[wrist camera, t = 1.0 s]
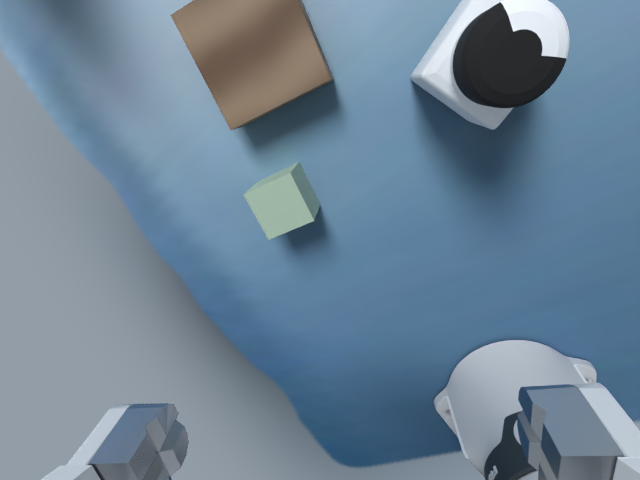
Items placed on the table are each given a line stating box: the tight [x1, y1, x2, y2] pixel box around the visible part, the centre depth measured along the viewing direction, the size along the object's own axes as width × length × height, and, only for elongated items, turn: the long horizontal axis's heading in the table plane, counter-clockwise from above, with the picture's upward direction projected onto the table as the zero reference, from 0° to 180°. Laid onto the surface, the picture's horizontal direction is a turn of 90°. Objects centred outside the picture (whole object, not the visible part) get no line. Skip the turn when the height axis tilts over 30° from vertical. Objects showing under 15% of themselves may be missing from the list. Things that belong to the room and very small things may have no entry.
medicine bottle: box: [411, 0, 569, 130], centre depth 26 cm, size 7×7×12 cm
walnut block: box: [171, 0, 334, 130], centre depth 32 cm, size 10×10×4 cm
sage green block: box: [243, 162, 320, 239], centre depth 36 cm, size 5×5×5 cm
